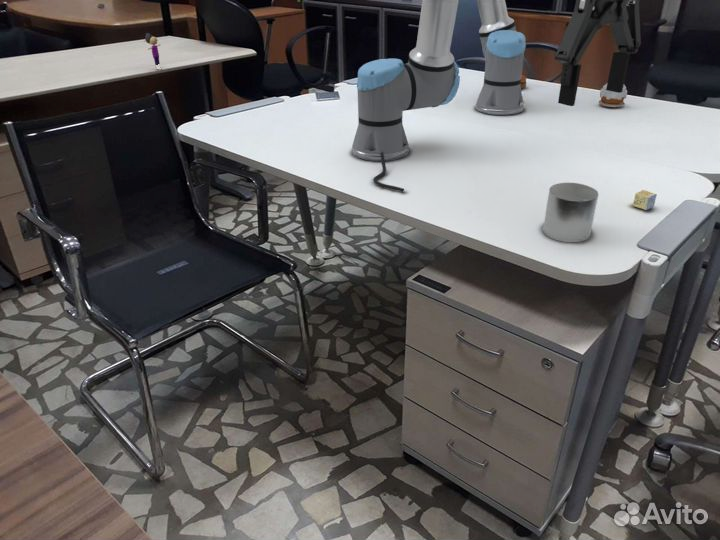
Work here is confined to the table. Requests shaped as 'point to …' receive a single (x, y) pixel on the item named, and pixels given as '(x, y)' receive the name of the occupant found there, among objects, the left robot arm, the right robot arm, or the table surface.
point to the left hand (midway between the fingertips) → (590, 97)
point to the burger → (523, 81)
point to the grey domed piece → (612, 97)
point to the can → (570, 212)
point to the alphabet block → (644, 200)
